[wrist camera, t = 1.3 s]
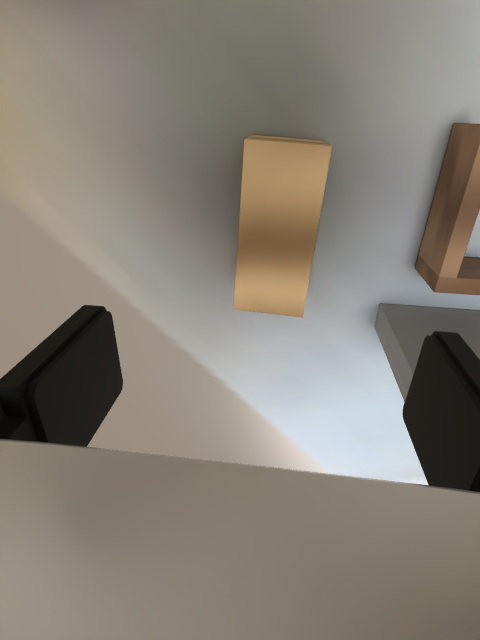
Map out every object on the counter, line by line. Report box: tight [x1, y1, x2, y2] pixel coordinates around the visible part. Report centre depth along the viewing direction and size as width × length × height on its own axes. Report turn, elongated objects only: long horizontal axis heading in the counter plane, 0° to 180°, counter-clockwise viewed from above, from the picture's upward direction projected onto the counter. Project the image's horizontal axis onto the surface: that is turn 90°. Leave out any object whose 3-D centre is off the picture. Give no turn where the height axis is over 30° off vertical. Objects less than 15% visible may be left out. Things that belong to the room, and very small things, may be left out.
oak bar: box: [234, 135, 332, 317], centre depth 23 cm, size 10×4×5 cm, turn 176°
